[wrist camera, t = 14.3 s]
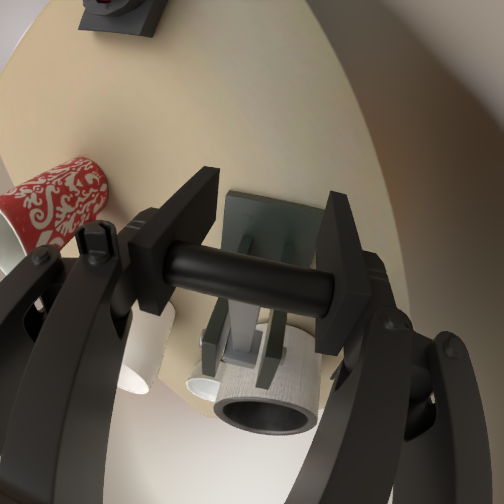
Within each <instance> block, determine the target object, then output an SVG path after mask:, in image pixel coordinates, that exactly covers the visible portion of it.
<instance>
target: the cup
mask: <svg viewBox="0 0 504 504" xmlns="http://www.w3.org/2000/svg"><path fill="white" fill-rule="evenodd" d="M131 308H132V312H133V320H132V323H131V327H130V331H129V335H128V339H127V343H126V347H125V351H124V356H123V360H122V365H121V369H120V374H119V379H118V384H117V387H119V388H121V389H124V390H126V391H129V392H132V393H136V394H146V393H148V392H149V390H150V388H151V386H152V384H153V382H154V380H155V379H156V377H157V375H158V373H159V370H160V367H161V363H162V360H163V356H164V352H165V349H166V345H167V342H168V338H169V335H170V331H171V328H172V324H173V321H174V318H175V310H174V307H173V305H172V304H171V303H170V301H168V303H167V305H166V306H165V308H164V310H163V312H162V314H161V316H156V315H153V314H150V313H147V312H144V311H140V309H139V305H138V300H136V301H135V303H134V304H133V306H132V307H131Z"/></svg>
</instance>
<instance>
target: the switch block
mask: <svg viewBox="0 0 504 504" xmlns="http://www.w3.org/2000/svg"><path fill="white" fill-rule="evenodd" d="M167 1H168V0H110V1H103V0H83V6H84V7H85V11H84V13H83V16H82V19H81V22H80V25H79V28H78V30H89V31H103V32H114V33H123V34H130V35H137V36H144V37H150V38H152V36H153V34H154V31H155V28H156V26H157V24H158V21H159V19H160V16H161V14H162V12H163V9H164V7H165V5H166V3H167Z"/></svg>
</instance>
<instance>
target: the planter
mask: <svg viewBox="0 0 504 504" xmlns="http://www.w3.org/2000/svg"><path fill="white" fill-rule="evenodd" d="M267 325H268V323H264V324H257V325H256V329H255V330H259V331H263V335H262V340H261V344H260V348H259V353H258V357H257V362H256V365H255V367H254V369H250V368H245V367H241V366H237V365H232V364H228V363H226V365H225V368H224V372H223V376H222V379H221V383H220V387H219V390H218V394H217V397H216V400H215V404H214V412H215V414H216V415H217V416H218V417H219V418H220V419H221V420H223V421H225V422H226V423H228V424H230V425H232V426H234V427H236V428H239V429H242V430H245V431H249V432H253V433H258V434H265V435H293V434H298V433H303V432H306V431H308V430H310V429H312V428H313V427H314V426H315V425H316V424H317V420H318V407H319V393H320V379H321V363H322V354H320V353H315V338H314V337H312V336H311V335H310V334H308V333H307V332H305V331H303V330H301V329H299V328H296V327H293V326H289V325H286V328H285V336H284V344H283V347H287V353H286V358H285V362H284V364H283V366H278V369H277V371H276V374H275V376H274V378H273V381H272V383H271V385H270V388H269V390H266V389H261V388H256V387H255V386H256V381H257V376H258V371H259V366H260V361H261V356H262V351H263V346H264V341H265V336H266V330H267Z"/></svg>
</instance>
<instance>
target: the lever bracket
mask: <svg viewBox="0 0 504 504" xmlns="http://www.w3.org/2000/svg"><path fill="white" fill-rule="evenodd" d="M324 212H325V210H323V209H318V208H314V207H310V206H305V205H301V204H296V203H292V202H287V201H282V200H277V199H273V198H268V197H263V196H258V195H252V194H247V193H242V192H237V191H231V190H229V191H228V193H227V194H226V199H225V209H224V220H223V231H222V243H221V250H226V251H231V252H235V253H240V254H245V255H249V256H254V257H259V258H263V259H268V260H273V261H277V262H282V263H287V264H291V265H296V266H301V267H305V268H310V265H311V262H312V259H313V256H314V253H315V249H316V239H317V236H318V232H319V229H320V226H321V222H322V219H323V215H324ZM287 313H288V312H283V311H278V310H273V309H270V314H269V320H268V325H267V330H266V336H265V341H264V346H263V351H262V356H261V361H260V366H259V371H258V376H257V381H256V386H255V387H256V388H261V389H266V390H269V388H270V385H271V383H272V381H273V378H274V376H275V374H276V371H277V369H278V366H283V364H284V362H285V358H286V353H287V347H283V344H284V336H285V328H286V321H287ZM230 327H231V322H230V312H229V303H228V299H224V298H220V297H218V300H217V302H216V305H215V307H214V310H213V312H212V315H211V318H210V320H209V323H208V325H207V328H206V329H203V331H202V334H201V337H200V342H199V347H201V348H202V374H203V375H206V376H210V377H215V376H216V372H217V369H218V366H219V363H220V359H221V356H222V353H223V350H224V347H225V343H226V340H227V337H228V334H229V330H230Z"/></svg>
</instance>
